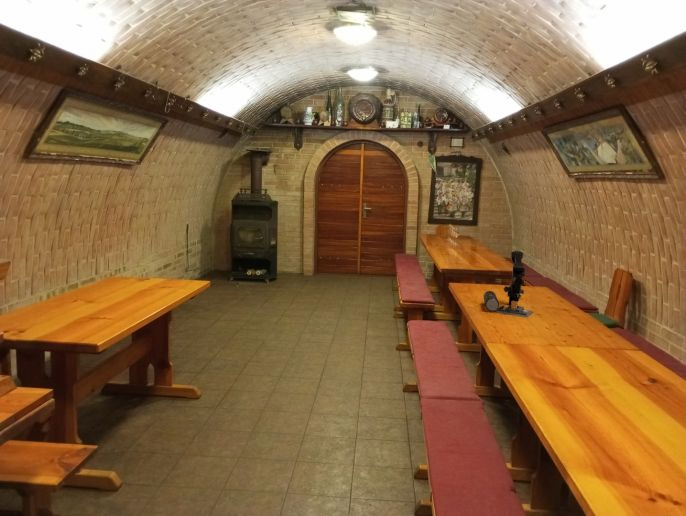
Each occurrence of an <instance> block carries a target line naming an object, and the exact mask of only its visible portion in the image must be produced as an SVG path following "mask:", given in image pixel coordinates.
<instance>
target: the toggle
mask: <svg viewBox="0 0 686 516" xmlns="http://www.w3.org/2000/svg"><path fill="white" fill-rule="evenodd" d="M517 304H518V303H517V301H512V303H511V309H517V306H518V305H517Z"/></svg>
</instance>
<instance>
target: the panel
mask: <svg viewBox="0 0 686 516" xmlns="http://www.w3.org/2000/svg"><path fill="white" fill-rule="evenodd" d="M506 307H507V306H504V307H503V308H501V309H502V310H505V308H506ZM524 310H526V311H527V312H524ZM524 310H523V311H522V312H520V313H527V315H522V314H516V313H510V312H503V311H497V309H496V310H495V313H498V312H499V314H504V315H512V316H516V315H517V317H523V318H528V316H529V317H530V316H531V315H533V314H534V311H533V310H528V309H524ZM532 313H533V314H532Z"/></svg>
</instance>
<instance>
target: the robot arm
mask: <svg viewBox="0 0 686 516" xmlns="http://www.w3.org/2000/svg"><path fill="white" fill-rule="evenodd" d="M510 258H511V261H512V271H511V272H512V273H511V274H512V275H511V282H510V284H509V286H508V285H507V286H504V288H503V291H504V293H507V294H506V295H507V297H508V303H506V305H508V306H510V305H511V303H512V301H517V306H519V304H518V303H519V301H520V299H521V298H522V295H524V294H525V289H522V286H523V284H524V283H523V282H524V280H523V277H525V275H526V268H525V266H524V264H523V263H522V261H523V258H524V252H522V251H521V250H514V251H511V253H510ZM521 294H522V295H521Z"/></svg>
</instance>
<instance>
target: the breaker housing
mask: <svg viewBox="0 0 686 516" xmlns="http://www.w3.org/2000/svg"><path fill="white" fill-rule="evenodd" d="M505 307H506V308H505V310H508V311H514V312H522V311H523V310H524V312H527V311H526V310H527V309H525V307H524V306H521V305H520V306H519V305H517V309H511V305H508V306H505Z"/></svg>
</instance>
